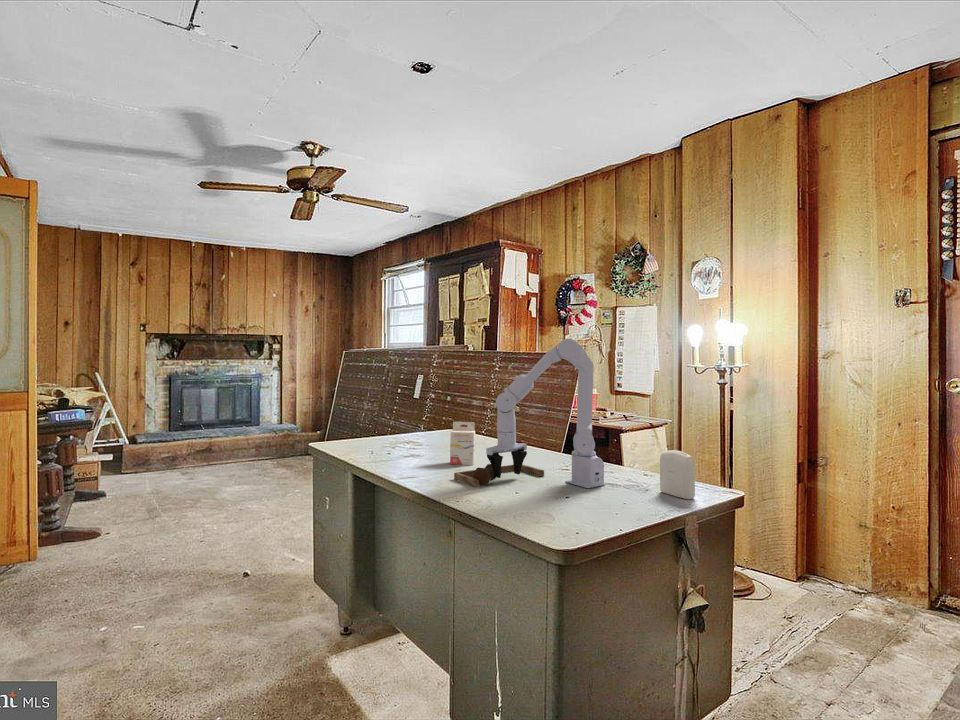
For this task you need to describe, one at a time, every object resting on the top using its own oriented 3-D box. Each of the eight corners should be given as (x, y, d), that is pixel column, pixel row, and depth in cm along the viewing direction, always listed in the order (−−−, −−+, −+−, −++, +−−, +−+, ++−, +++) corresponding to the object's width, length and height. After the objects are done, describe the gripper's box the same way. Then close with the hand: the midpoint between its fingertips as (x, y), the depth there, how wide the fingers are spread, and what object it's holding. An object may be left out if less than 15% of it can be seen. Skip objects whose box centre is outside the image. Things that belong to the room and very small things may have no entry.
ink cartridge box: (449, 464, 188) (449, 423, 188) (451, 462, 193) (451, 421, 193) (473, 465, 187) (473, 423, 187) (475, 462, 192) (475, 421, 192)
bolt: (497, 480, 172) (483, 490, 157) (484, 472, 173) (469, 480, 159) (506, 465, 171) (492, 473, 157) (493, 457, 172) (478, 464, 158)
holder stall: (544, 476, 170) (544, 470, 170) (476, 487, 155) (476, 480, 155) (519, 469, 180) (519, 463, 180) (454, 479, 166) (454, 472, 166)
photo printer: (657, 491, 151) (657, 448, 151) (668, 490, 153) (668, 447, 153) (685, 500, 142) (686, 454, 142) (697, 498, 144) (697, 453, 144)
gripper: (516, 428, 172) (517, 470, 172) (480, 432, 163) (481, 476, 163) (530, 430, 166) (531, 473, 166) (494, 434, 158) (495, 480, 158)
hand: (507, 475), depth 164 cm, fingers open, 7 cm apart
